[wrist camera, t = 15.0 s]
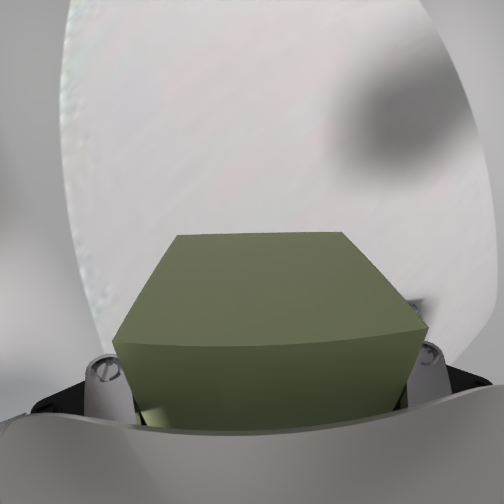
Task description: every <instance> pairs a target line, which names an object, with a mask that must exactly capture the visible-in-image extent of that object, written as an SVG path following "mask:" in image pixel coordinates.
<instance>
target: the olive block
mask: <svg viewBox="0 0 504 504" xmlns="http://www.w3.org/2000/svg"><path fill="white" fill-rule="evenodd" d="M428 328H429V327H428V326H427V325H426V324H425V322H424V321H423V320H422V319H421V318H420V317H419V315H418V314H417V313H416V312H415V311H414V309H413V308H412V307H411V306H410V305H409V304H408V302H407V301H406V300H405V299H404V298H403V297H402V296H401V294H400V293H399V292H398V291H397V290H396V289H395V288H394V287H393V286H392V284H391V283H390V282H389V281H388V280H387V279H386V278H385V277H384V276H383V275H382V273H381V272H380V271H379V270H378V269H377V268H376V267H375V266H374V265H373V264H372V263H371V262H370V261H369V260H368V258H367V257H366V256H365V255H364V254H363V253H362V252H361V251H360V250H359V249H358V248H357V247H356V246H355V245H354V244H353V243H352V242H351V241H350V240H349V239H348V238H347V237H346V236H345V235H344V234H343V233H342V232H292V233H239V234H201V235H177V236H176V238H175V239H174V241H173V242H172V244H171V245H170V247H169V248H168V250H167V251H166V253H165V254H164V256H163V257H162V259H161V260H160V262H159V264H158V265H157V267H156V268H155V270H154V271H153V273H152V275H151V276H150V278H149V279H148V281H147V283H146V284H145V286H144V287H143V289H142V291H141V292H140V294H139V296H138V297H137V299H136V301H135V302H134V304H133V306H132V307H131V309H130V311H129V312H128V314H127V316H126V318H125V319H124V321H123V323H122V324H121V326H120V328H119V330H118V331H117V333H116V335H115V337H114V339H113V340H112V343H113V346H114V349H115V351H116V354H117V357H118V359H119V362H120V365H121V367H122V370H123V372H124V375H125V377H126V380H127V382H128V384H129V387H130V389H131V391H132V394H133V396H134V398H135V401H136V403H137V405H138V407H139V409H140V411H141V413H142V416H143V418H144V420H145V422H146V424H147V426H153V427H162V428H172V429H186V430H206V431H255V430H275V429H288V428H299V427H309V426H317V425H324V424H331V423H338V422H344V421H350V420H355V419H361V418H366V417H371V416H375V415H380V414H384V413H388V412H392V411H393V409H394V407H395V405H396V403H397V401H398V399H399V397H400V395H401V393H402V391H403V389H404V387H405V385H406V383H407V380H408V378H409V376H410V374H411V371H412V369H413V367H414V365H415V362H416V360H417V357H418V355H419V352H420V350H421V347H422V345H423V342H424V339H425V337H426V334H427V331H428Z"/></svg>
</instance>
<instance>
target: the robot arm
mask: <svg viewBox="0 0 504 504" xmlns="http://www.w3.org/2000/svg"><path fill="white" fill-rule="evenodd" d="M0 504H504V385H493V384H492V383H491V382H490V381H488V380H487V379H485V378H483V377H479V376H477V375H474V374H471V373H468V372H465V371H462V370H460V369H457V368H454V367H451V366H448V365H446V363H445V359H444V355H443V353H442V351H441V350H440V349H439V347H437V346H436V345H434V344H433V343H430V342H428V341H424V342H423V345H422V347H421V350H420V352H419V355H418V357H417V360H416V362H415V365H414V367H413V369H412V371H411V374H410V376H409V378H408V380H407V383H406V385H405V387H404V389H403V391H402V393H401V395H400V397H399V399H398V401H397V403H396V405H395V407H394V409H393V411H392V412H388V413H384V414H380V415H375V416H371V417H366V418H361V419H355V420H350V421H344V422H338V423H331V424H324V425H317V426H309V427H299V428H288V429H275V430H255V431H206V430H186V429H172V428H162V427H153V426H147V424H146V422H145V420H144V418H143V416H142V413H141V411H140V409H139V407H138V405H137V403H136V401H135V398H134V396H133V394H132V391H131V389H130V387H129V384H128V382H127V380H126V377H125V375H124V372H123V370H122V367H121V365H120V362H119V359H118V357H117V354H105V355H102V356H99V357H97V358H95V359H94V360H93V361H91V362H90V364H89V365H88V366H87V369H86V373H85V381H83V382H81V383H78V384H76V385H74V386H72V387H69V388H67V389H65V390H63V391H61V392H58V393H56V394H54V395H51V396H49V397H47V398H44V399H42V400H41V401H39V402H37V403H36V404H35V405H34V407H33V408H32V410H31V413H30V414H27V413H23V414H21V415H18V416H16V417H13V418H11V419H8V420H5V421H3V422H0Z"/></svg>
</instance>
